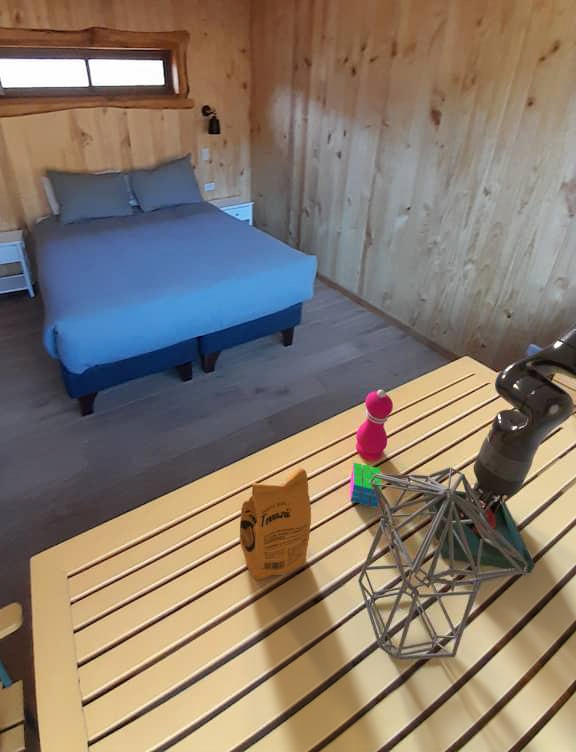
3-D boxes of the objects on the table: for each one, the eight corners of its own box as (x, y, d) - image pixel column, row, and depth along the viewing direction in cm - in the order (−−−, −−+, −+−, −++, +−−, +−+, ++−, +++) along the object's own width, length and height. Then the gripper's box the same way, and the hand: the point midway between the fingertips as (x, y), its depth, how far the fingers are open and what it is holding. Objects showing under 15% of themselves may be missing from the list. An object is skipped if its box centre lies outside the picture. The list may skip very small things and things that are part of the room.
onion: (489, 522, 84) (500, 498, 80) (489, 547, 80) (501, 523, 76) (457, 509, 87) (467, 485, 83) (456, 532, 82) (466, 508, 79)
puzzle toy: (377, 508, 88) (381, 491, 86) (350, 501, 90) (353, 484, 87) (376, 484, 93) (380, 468, 90) (350, 478, 95) (353, 462, 92)
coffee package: (235, 534, 84) (235, 463, 74) (290, 519, 86) (297, 449, 76) (250, 587, 75) (252, 515, 65) (311, 569, 78) (322, 497, 68)
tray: (498, 505, 88) (502, 497, 87) (530, 573, 76) (535, 565, 75) (423, 494, 91) (425, 486, 89) (442, 558, 79) (445, 550, 78)
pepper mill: (353, 458, 99) (365, 398, 90) (354, 436, 105) (365, 377, 96) (384, 466, 97) (399, 405, 88) (383, 442, 103) (397, 383, 94)
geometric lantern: (342, 576, 76) (370, 450, 61) (421, 569, 77) (469, 442, 61) (377, 690, 62) (425, 563, 47) (474, 679, 63) (554, 552, 47)
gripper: (497, 494, 68) (471, 551, 76) (548, 462, 73) (519, 518, 81) (457, 460, 74) (437, 516, 82) (507, 432, 80) (483, 487, 87)
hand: (478, 517), depth 81 cm, fingers closed on onion, 6 cm apart
